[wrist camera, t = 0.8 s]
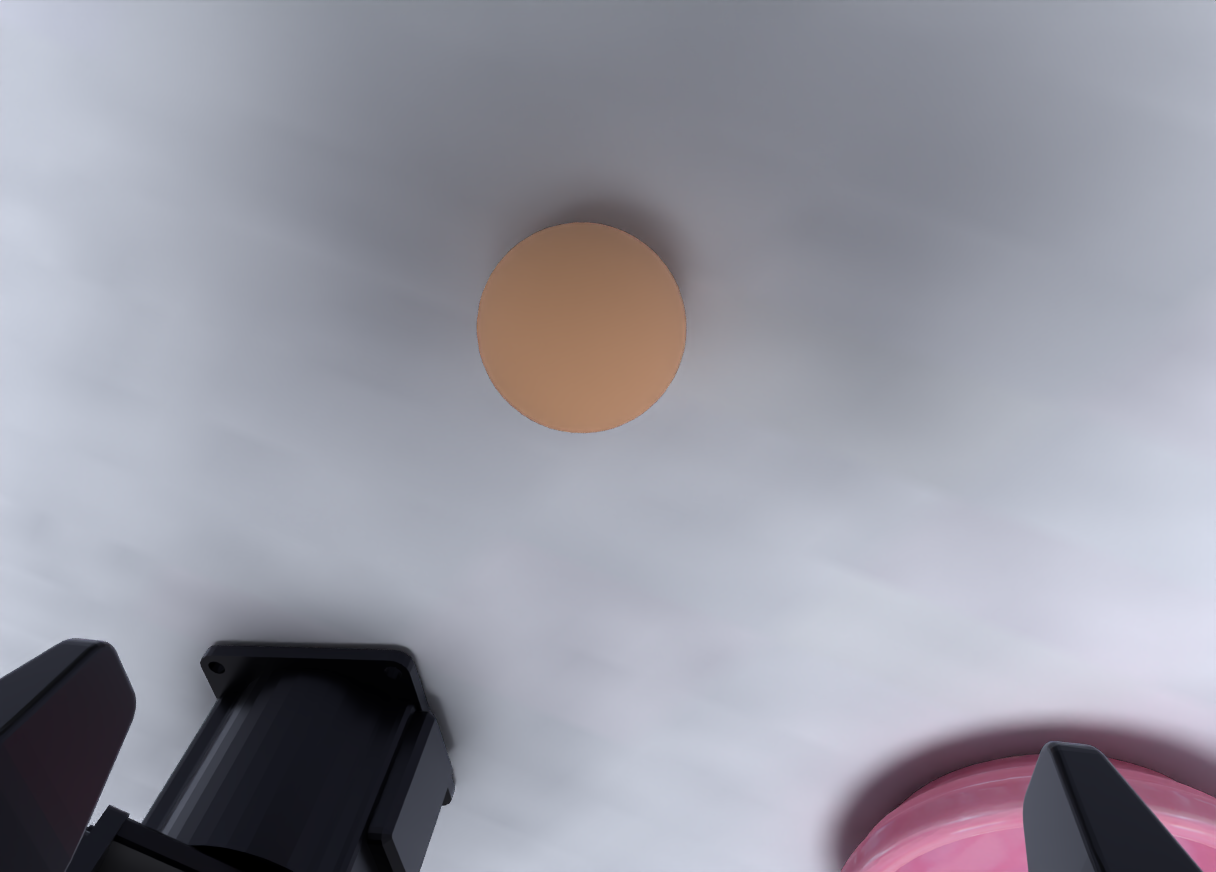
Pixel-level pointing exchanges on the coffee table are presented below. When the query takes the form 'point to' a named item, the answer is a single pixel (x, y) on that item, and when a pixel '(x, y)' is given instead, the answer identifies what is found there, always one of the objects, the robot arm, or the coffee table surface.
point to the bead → (581, 327)
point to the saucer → (1010, 820)
